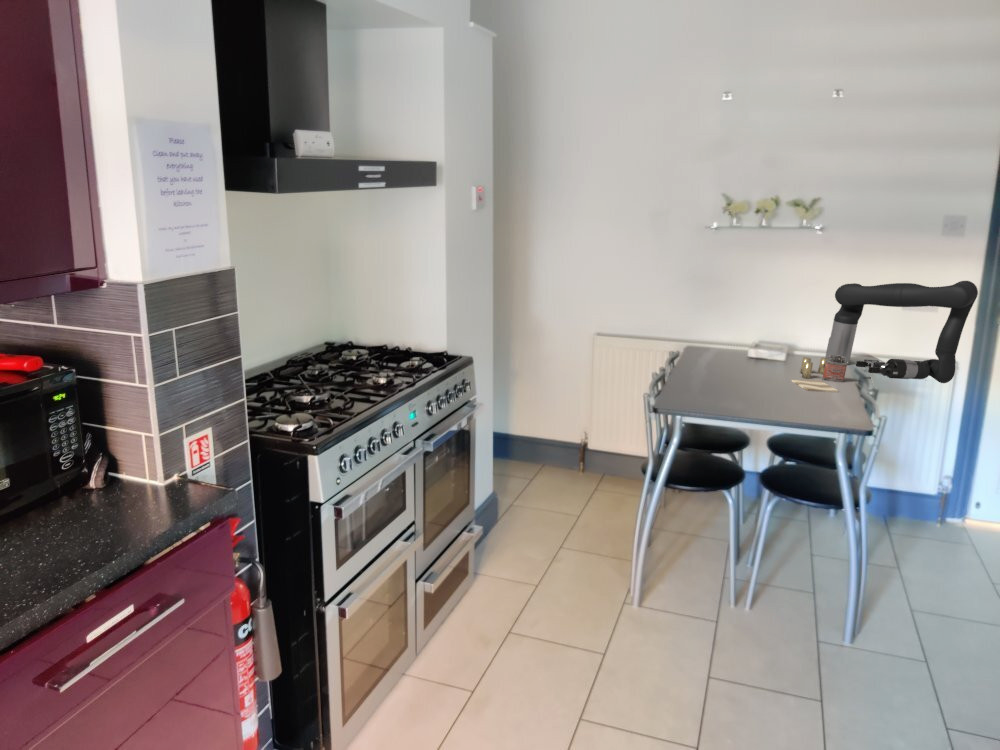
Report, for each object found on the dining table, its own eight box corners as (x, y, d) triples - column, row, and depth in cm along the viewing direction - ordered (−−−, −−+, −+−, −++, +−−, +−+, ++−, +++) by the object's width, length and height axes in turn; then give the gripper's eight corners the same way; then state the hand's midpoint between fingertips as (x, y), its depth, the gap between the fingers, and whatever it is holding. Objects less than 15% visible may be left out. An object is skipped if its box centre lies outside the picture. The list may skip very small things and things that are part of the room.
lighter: (842, 380, 313) (847, 355, 310) (844, 383, 310) (850, 357, 307) (820, 378, 313) (825, 353, 311) (823, 380, 310) (828, 355, 308)
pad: (791, 381, 305) (791, 379, 305) (821, 382, 307) (821, 381, 306) (807, 390, 293) (807, 389, 293) (838, 392, 295) (838, 390, 295)
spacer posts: (790, 370, 321) (793, 355, 319) (823, 372, 323) (826, 357, 321) (804, 378, 310) (807, 363, 309) (838, 380, 312) (841, 365, 311)
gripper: (892, 354, 320) (854, 352, 317) (915, 364, 306) (875, 362, 304) (888, 373, 322) (850, 371, 319) (910, 383, 308) (871, 381, 306)
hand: (862, 366), depth 312 cm, fingers open, 8 cm apart
